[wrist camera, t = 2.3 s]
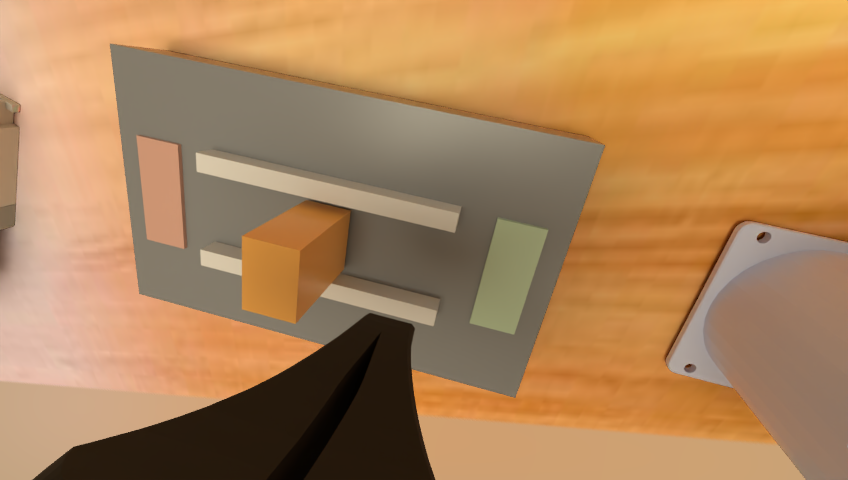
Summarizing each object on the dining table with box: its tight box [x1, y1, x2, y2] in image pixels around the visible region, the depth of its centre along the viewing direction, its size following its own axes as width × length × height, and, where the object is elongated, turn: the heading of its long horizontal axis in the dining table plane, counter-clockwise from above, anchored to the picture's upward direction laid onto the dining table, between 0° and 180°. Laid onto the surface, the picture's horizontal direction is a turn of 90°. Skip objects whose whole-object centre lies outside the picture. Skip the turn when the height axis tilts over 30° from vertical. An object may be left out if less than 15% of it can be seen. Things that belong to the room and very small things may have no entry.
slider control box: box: [110, 44, 605, 398], centre depth 18 cm, size 20×12×4 cm, turn 80°
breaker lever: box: [242, 200, 351, 324], centre depth 15 cm, size 2×3×4 cm
